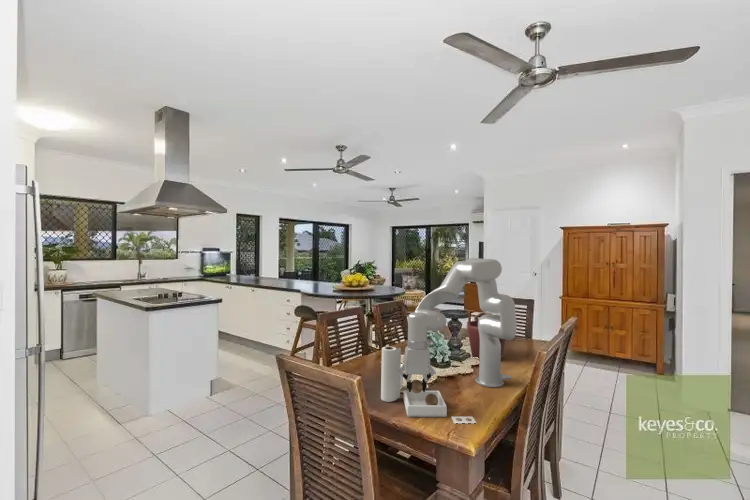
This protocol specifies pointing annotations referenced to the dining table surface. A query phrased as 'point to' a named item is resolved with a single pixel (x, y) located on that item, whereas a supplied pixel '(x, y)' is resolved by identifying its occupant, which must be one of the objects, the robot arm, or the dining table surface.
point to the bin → (424, 405)
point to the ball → (431, 399)
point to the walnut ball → (416, 386)
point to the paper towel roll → (390, 373)
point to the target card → (463, 420)
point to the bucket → (474, 336)
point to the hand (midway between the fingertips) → (416, 390)
